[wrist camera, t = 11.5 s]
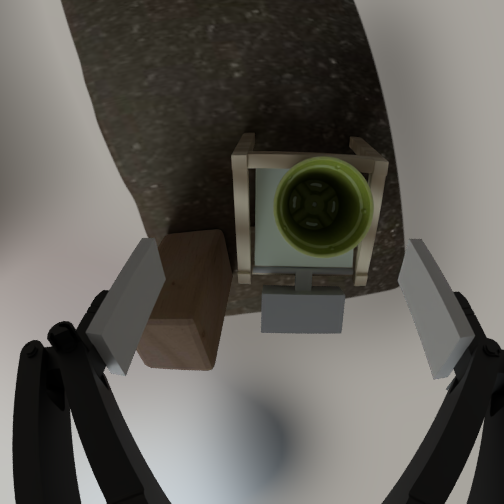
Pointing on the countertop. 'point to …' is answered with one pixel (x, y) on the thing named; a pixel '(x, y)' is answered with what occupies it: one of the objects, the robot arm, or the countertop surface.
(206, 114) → the countertop surface
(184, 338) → the wooden block
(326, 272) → the trapdoor
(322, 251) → the plant pot
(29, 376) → the robot arm
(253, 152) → the frame
